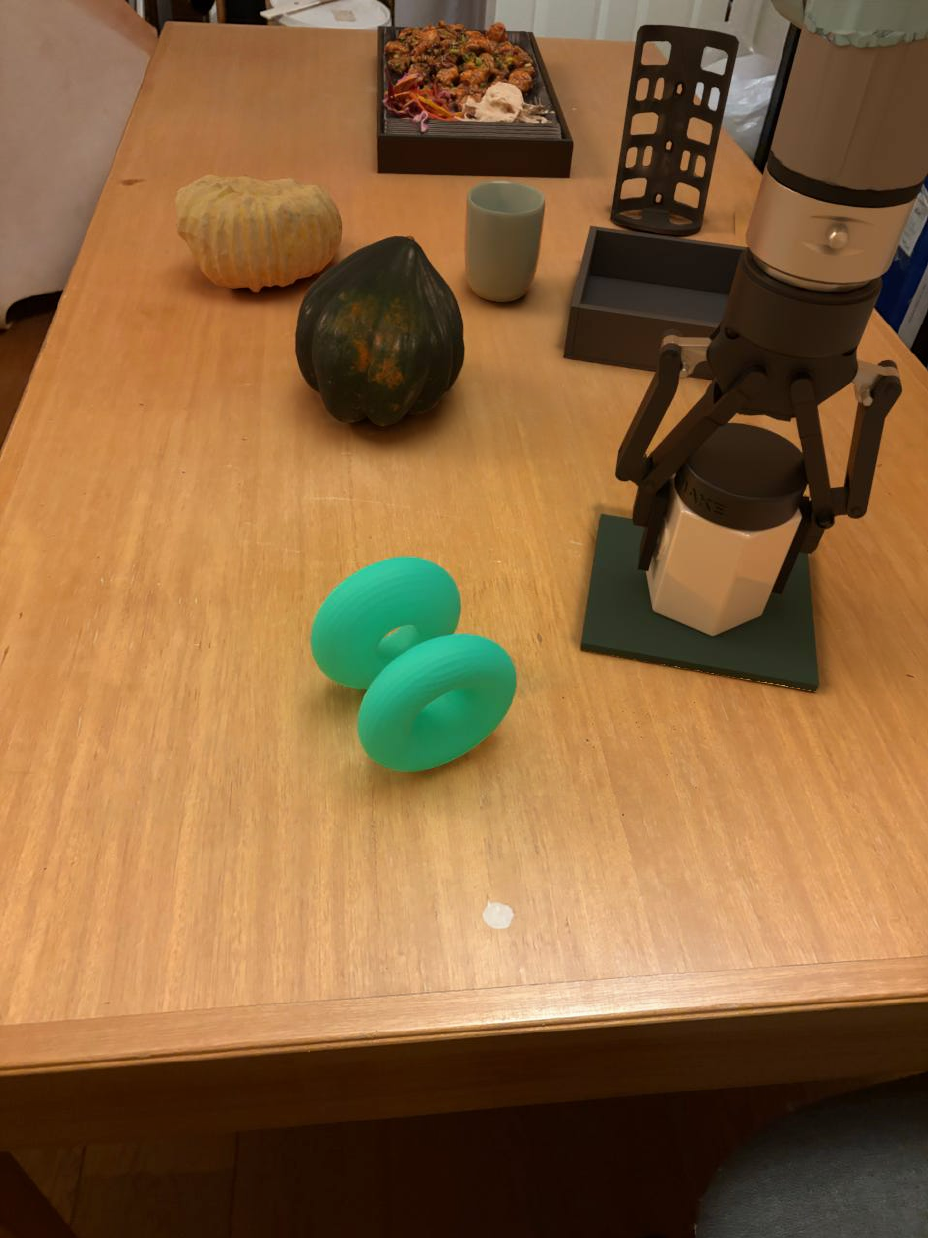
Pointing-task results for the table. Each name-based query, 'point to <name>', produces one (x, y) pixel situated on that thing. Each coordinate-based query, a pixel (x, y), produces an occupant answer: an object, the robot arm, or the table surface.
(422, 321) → the squash
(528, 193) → the cup
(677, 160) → the holder
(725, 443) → the jar
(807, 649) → the mat
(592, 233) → the tub
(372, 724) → the donuts
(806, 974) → the table surface
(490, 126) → the food platter
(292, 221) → the pale yellow ribbed round
